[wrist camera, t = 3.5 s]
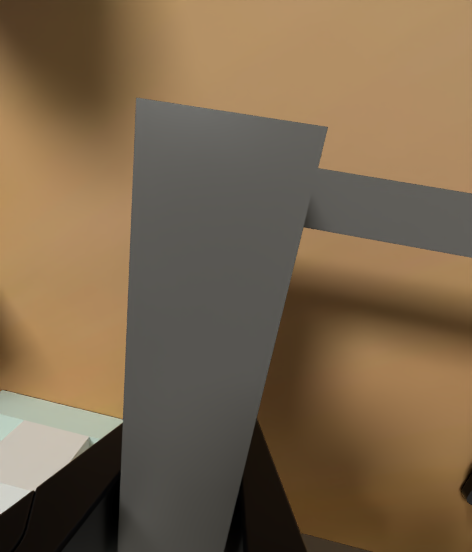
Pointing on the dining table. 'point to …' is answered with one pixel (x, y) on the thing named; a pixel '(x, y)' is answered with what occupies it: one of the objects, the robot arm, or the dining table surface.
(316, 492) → the dining table surface
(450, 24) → the dining table surface
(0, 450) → the mint stepped display stand
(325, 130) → the sunglasses
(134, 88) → the dining table surface
